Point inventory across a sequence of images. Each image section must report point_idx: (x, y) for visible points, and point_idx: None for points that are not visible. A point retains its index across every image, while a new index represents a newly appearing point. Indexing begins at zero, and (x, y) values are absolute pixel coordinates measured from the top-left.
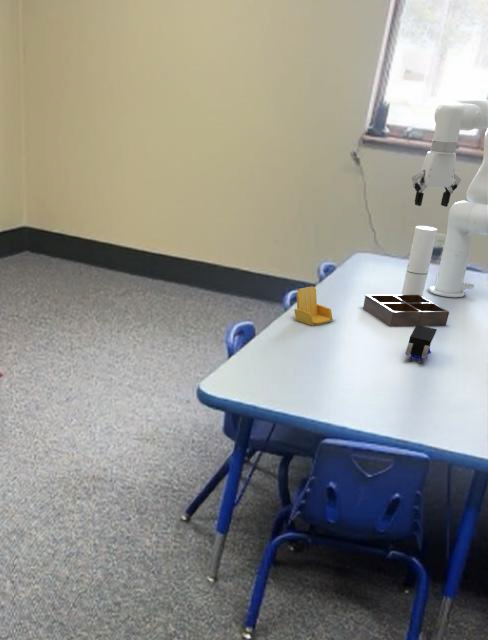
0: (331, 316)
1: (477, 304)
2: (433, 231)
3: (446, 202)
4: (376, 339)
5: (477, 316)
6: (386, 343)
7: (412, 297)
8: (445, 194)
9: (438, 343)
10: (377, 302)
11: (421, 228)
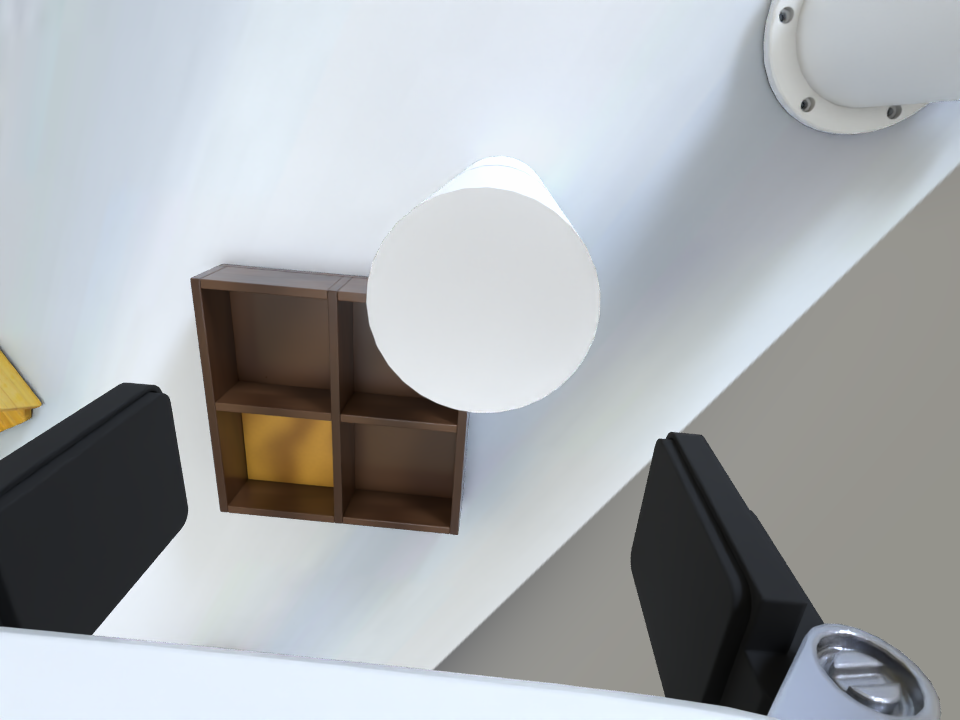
0: (25, 407)
1: (853, 259)
2: (495, 407)
3: (649, 608)
4: (149, 573)
5: (686, 420)
6: (168, 603)
7: None
8: (695, 663)
9: (332, 624)
10: (205, 393)
11: (401, 331)
